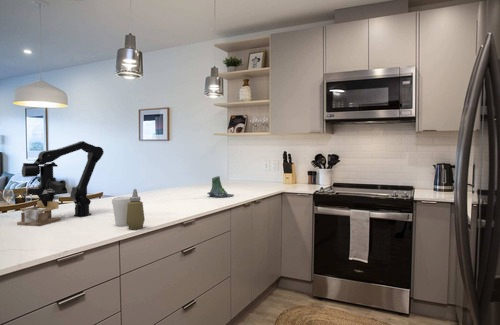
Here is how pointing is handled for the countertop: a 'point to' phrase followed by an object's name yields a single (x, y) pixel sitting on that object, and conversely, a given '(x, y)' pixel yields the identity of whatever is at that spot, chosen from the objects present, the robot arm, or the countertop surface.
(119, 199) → the foam cup
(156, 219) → the countertop surface
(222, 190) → the tree stump
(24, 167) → the robot arm
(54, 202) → the wooden c-shaped bracket
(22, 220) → the display stand
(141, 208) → the squeeze bottle
